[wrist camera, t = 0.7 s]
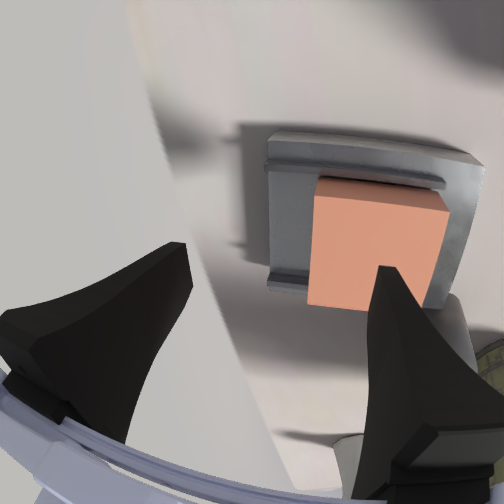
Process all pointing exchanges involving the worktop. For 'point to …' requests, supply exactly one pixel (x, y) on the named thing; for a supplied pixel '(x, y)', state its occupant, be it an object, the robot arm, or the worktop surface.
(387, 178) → the socket plate
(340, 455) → the flask
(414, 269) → the orange square block
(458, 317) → the plug
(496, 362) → the green stone statue
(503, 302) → the worktop surface
